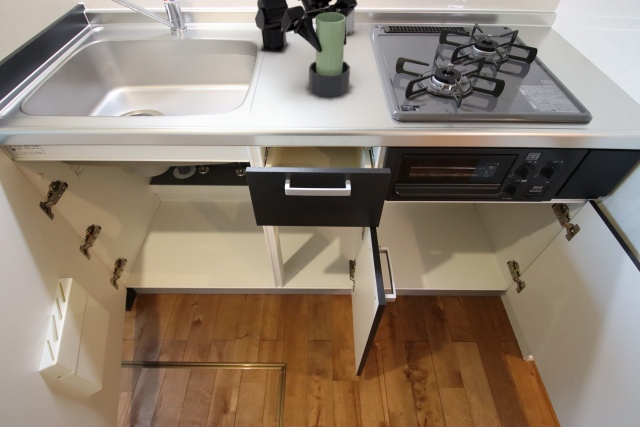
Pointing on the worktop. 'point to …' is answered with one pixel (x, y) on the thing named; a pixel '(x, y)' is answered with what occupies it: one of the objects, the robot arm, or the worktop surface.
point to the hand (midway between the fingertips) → (333, 48)
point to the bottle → (350, 22)
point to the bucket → (329, 82)
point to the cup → (330, 43)
